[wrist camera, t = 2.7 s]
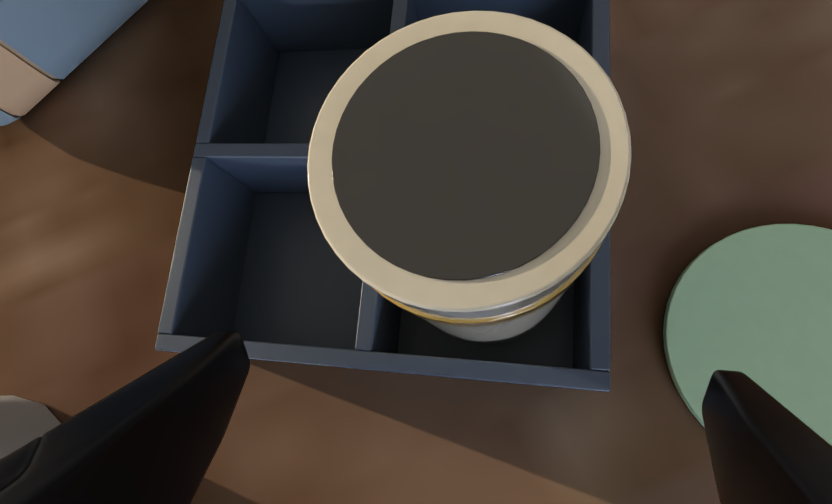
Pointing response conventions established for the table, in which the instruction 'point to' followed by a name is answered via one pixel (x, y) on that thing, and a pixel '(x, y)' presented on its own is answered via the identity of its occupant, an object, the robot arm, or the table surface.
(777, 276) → the coaster
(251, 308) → the organizer
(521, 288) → the pen pot
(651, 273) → the table surface
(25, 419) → the cup
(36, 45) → the blue rounded cube
